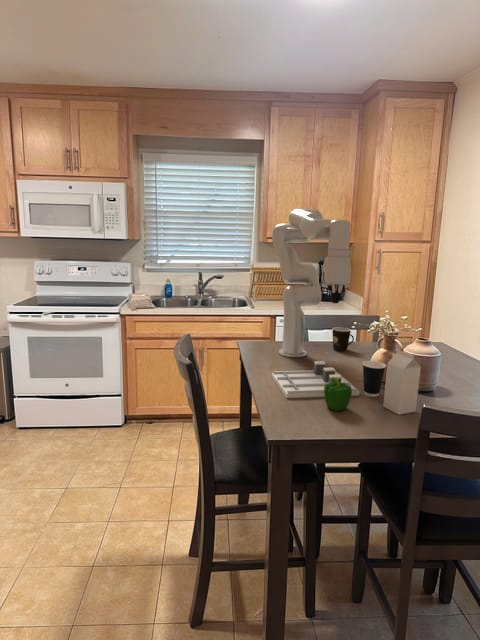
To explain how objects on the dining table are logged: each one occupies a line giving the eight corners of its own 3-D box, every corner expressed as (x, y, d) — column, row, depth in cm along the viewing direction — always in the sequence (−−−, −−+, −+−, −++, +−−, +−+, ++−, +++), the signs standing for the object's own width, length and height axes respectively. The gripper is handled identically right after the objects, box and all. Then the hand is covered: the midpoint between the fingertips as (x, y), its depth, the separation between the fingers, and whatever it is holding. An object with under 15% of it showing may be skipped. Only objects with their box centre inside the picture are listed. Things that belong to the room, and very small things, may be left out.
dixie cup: (386, 393, 159) (389, 363, 157) (378, 400, 153) (381, 369, 150) (364, 388, 164) (367, 359, 161) (356, 394, 157) (358, 364, 155)
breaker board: (271, 376, 173) (271, 371, 173) (335, 375, 178) (336, 369, 177) (286, 398, 152) (286, 391, 152) (359, 395, 156) (359, 389, 156)
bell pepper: (354, 412, 142) (357, 382, 140) (331, 414, 140) (333, 383, 138) (341, 402, 150) (343, 373, 148) (319, 404, 148) (321, 375, 145)
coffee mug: (328, 347, 219) (330, 327, 217) (345, 347, 220) (347, 327, 218) (336, 354, 208) (337, 332, 206) (354, 353, 209) (355, 333, 207)
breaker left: (313, 372, 174) (314, 361, 173) (322, 372, 174) (323, 361, 174) (315, 374, 172) (316, 363, 171) (324, 374, 172) (325, 363, 171)
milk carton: (398, 415, 140) (404, 356, 137) (383, 406, 147) (388, 350, 143) (415, 412, 143) (422, 354, 139) (399, 404, 150) (405, 348, 146)
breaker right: (328, 387, 158) (329, 374, 158) (337, 386, 159) (338, 374, 158) (330, 389, 156) (331, 376, 155) (340, 389, 157) (341, 376, 156)
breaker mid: (322, 379, 166) (323, 367, 165) (331, 379, 167) (332, 367, 166) (324, 381, 164) (325, 369, 163) (334, 381, 165) (335, 369, 164)
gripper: (353, 253, 171) (349, 301, 175) (315, 252, 169) (312, 301, 173) (361, 254, 164) (357, 304, 168) (322, 254, 162) (319, 304, 165)
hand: (334, 302), depth 170 cm, fingers closed
